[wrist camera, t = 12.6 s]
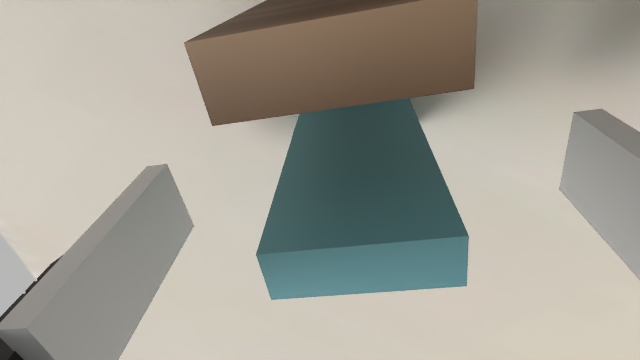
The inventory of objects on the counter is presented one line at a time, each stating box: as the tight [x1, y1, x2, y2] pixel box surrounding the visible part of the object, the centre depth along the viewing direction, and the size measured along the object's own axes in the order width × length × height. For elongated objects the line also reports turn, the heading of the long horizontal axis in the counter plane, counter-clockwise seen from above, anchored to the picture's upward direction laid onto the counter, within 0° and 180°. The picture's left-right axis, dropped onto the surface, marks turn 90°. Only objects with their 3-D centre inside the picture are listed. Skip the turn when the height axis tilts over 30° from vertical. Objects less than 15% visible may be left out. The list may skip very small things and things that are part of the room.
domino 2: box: [256, 98, 469, 300], centre depth 13 cm, size 2×5×10 cm, turn 100°
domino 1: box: [184, 0, 477, 126], centre depth 11 cm, size 2×5×10 cm, turn 100°
